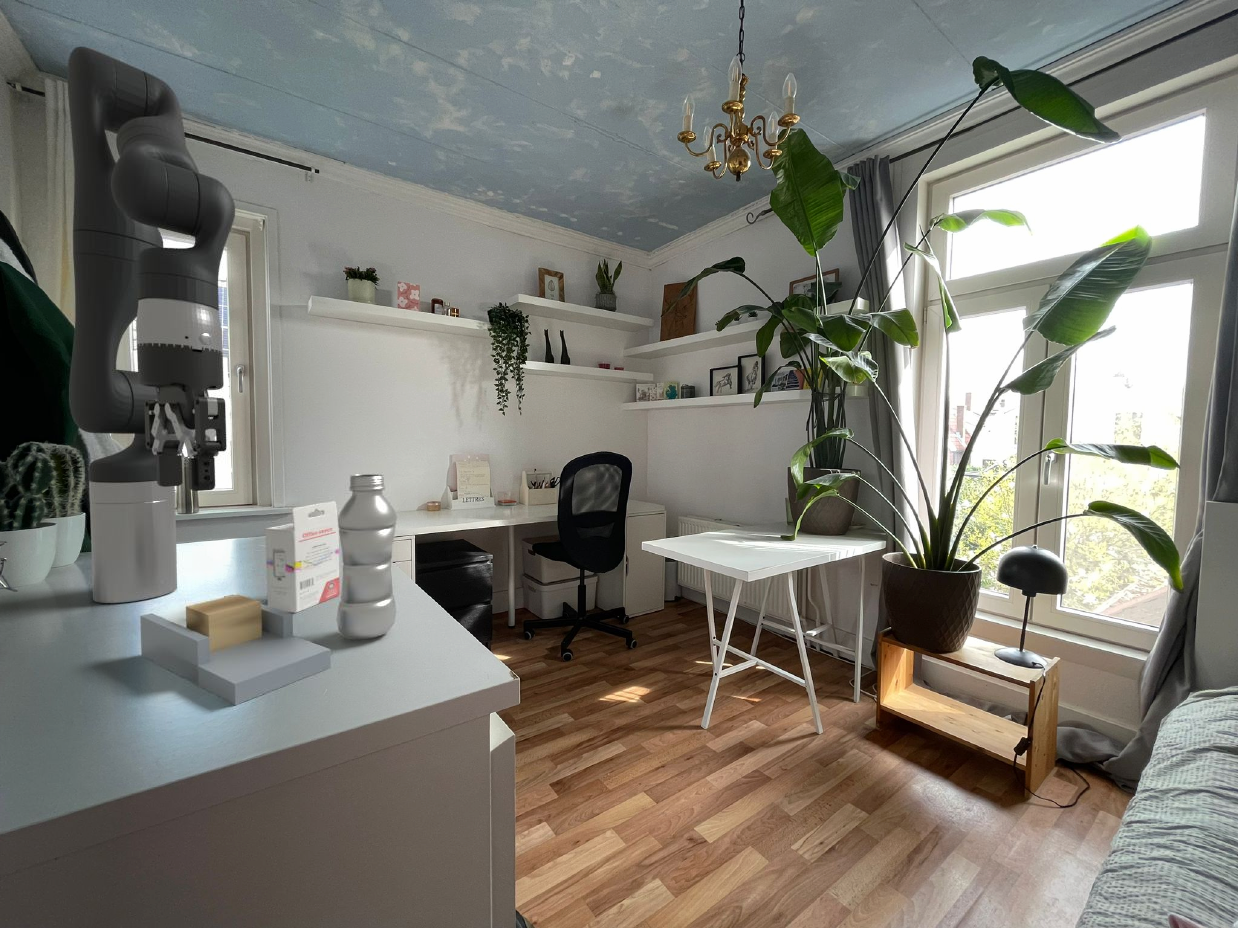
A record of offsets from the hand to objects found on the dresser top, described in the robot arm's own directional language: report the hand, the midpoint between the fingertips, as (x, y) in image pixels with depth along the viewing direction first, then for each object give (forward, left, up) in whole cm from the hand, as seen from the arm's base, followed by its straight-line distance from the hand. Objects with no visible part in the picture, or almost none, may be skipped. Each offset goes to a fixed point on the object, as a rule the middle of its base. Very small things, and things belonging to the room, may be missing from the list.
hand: (186, 488), depth 60 cm
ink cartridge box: (-3, +15, -19) cm, 24 cm away
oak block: (+8, 0, -16) cm, 18 cm away
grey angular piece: (+10, 0, -18) cm, 21 cm away
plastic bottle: (+16, +12, -18) cm, 27 cm away
